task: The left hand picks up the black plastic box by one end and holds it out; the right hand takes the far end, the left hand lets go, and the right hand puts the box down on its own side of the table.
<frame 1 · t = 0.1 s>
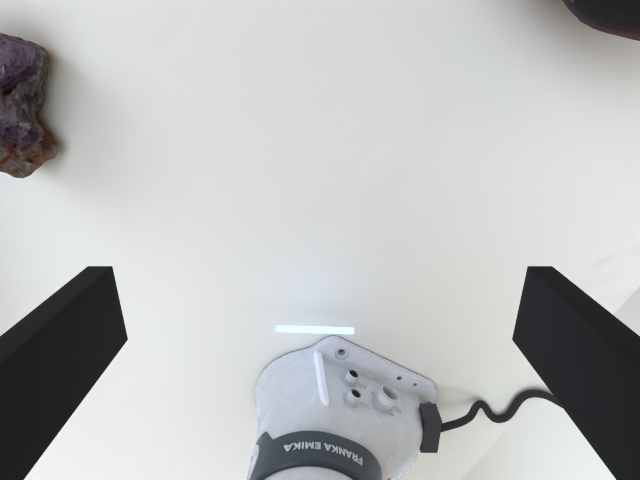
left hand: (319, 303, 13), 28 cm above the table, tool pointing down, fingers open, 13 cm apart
rock: (14, 97, 37), on the table
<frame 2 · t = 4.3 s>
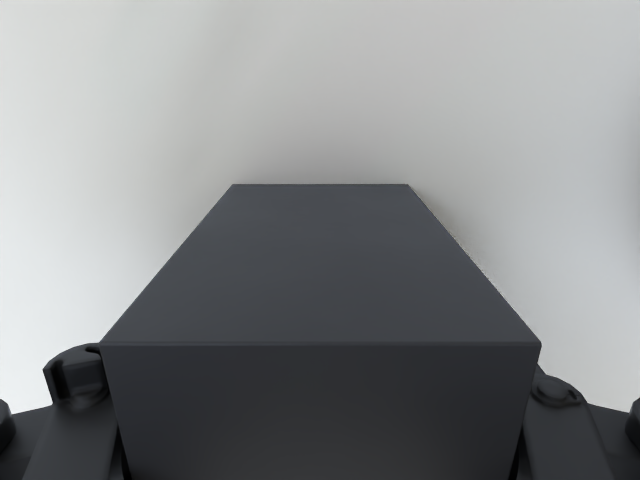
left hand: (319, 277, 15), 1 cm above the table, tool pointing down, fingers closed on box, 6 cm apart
box: (320, 439, 18), on the table, touching left hand
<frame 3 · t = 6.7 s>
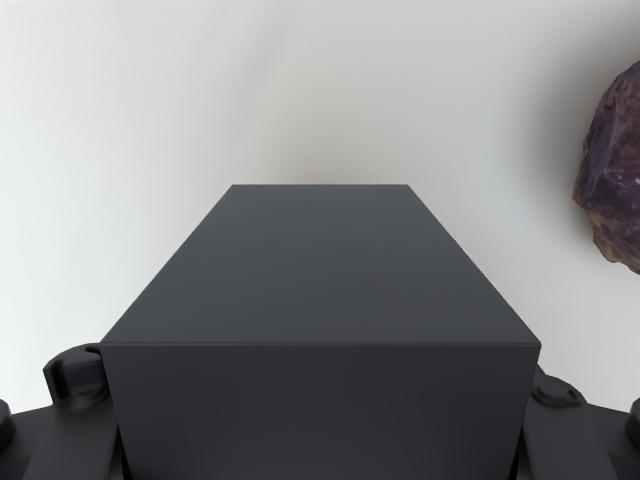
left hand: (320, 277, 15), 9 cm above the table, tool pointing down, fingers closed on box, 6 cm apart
rock: (620, 137, 21), on the table
box: (320, 439, 18), point 8 cm above the table, touching left hand
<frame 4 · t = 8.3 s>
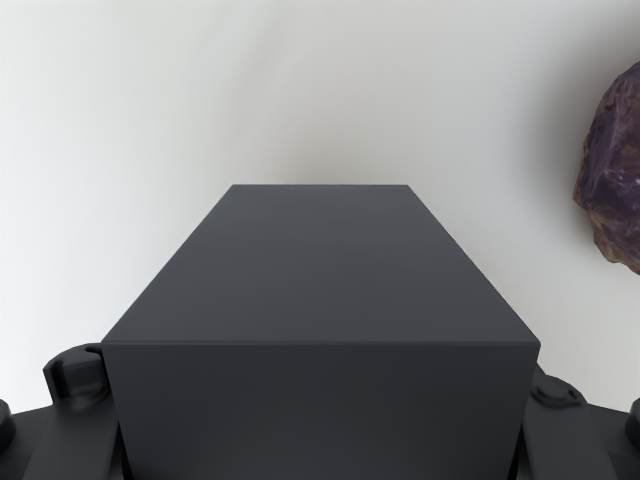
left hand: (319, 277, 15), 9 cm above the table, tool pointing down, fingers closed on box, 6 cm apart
rock: (620, 138, 21), on the table
box: (319, 439, 18), point 8 cm above the table, touching left hand, right hand
when the left hand's fingers open (9 cm above the table, at t = 9.5 s): box stays where it is, held by the right hand.
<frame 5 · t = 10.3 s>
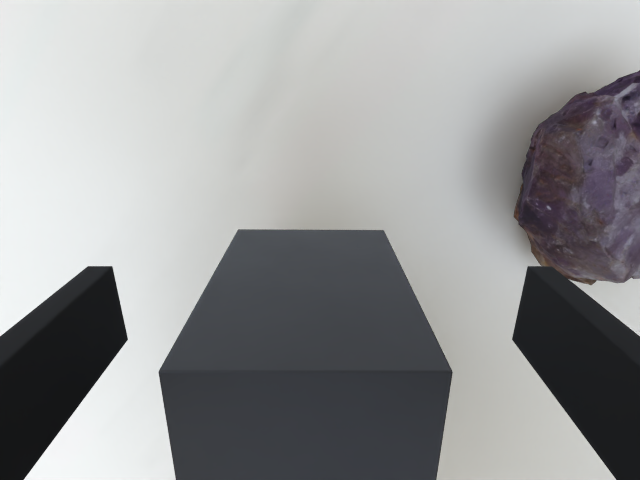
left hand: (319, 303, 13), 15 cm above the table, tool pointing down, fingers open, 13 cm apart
rock: (552, 167, 26), on the table
box: (310, 445, 21), point 11 cm above the table, touching right hand
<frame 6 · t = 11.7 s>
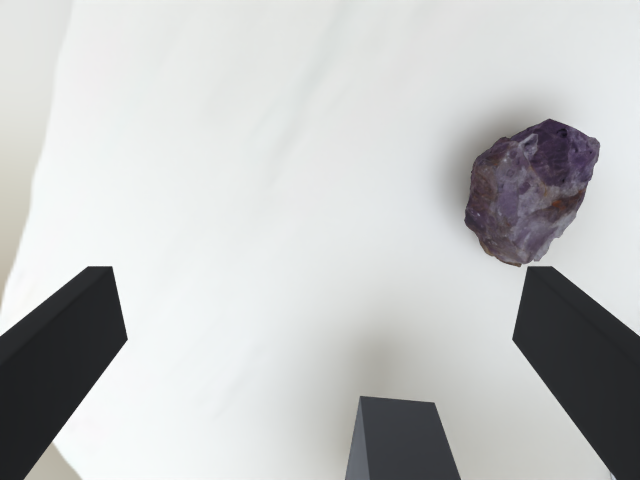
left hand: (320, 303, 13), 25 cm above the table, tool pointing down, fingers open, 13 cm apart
rock: (495, 183, 37), on the table
when the right hand's fingers open (5 cm above the table, at t = 15.1 s): box drops 1 cm, on the table.
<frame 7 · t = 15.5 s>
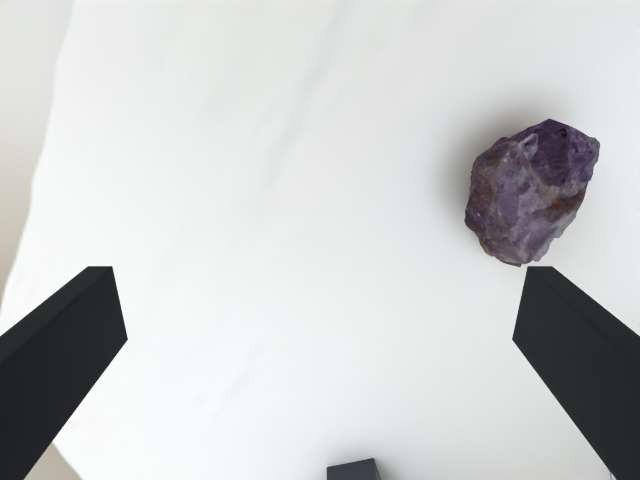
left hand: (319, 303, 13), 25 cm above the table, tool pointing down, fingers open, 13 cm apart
rock: (495, 183, 37), on the table
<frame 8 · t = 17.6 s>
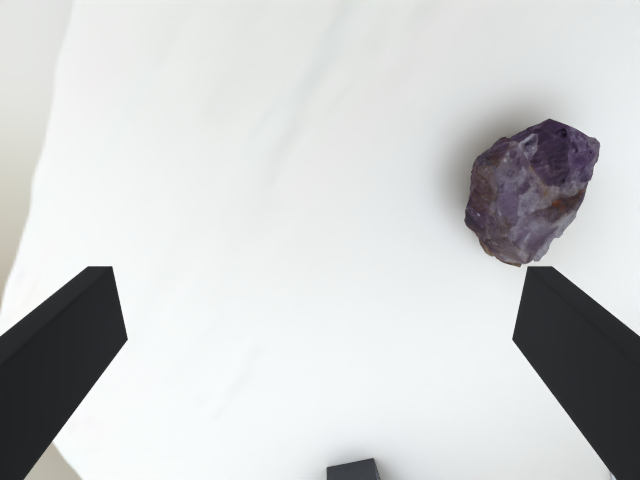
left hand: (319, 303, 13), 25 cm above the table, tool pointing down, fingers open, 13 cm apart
rock: (495, 183, 37), on the table
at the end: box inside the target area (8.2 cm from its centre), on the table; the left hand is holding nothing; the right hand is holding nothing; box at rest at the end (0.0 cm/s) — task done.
